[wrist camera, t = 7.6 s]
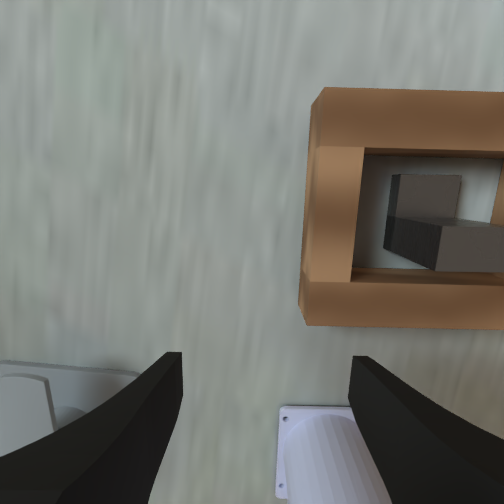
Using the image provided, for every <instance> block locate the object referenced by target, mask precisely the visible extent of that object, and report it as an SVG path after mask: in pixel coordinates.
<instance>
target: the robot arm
mask: <svg viewBox="0 0 504 504" xmlns="http://www.w3.org/2000/svg"><path fill="white" fill-rule="evenodd" d="M182 397H183V376H182V352H166V353H165V354H164V355H163V356H162V357H161V358H159V359H158V360H157V361H156V362H155V363H154V364H153V365H151V366H150V367H149V368H148V369H147V370H146V371H144V372H143V373H142V374H141V375H140V376H138V377H137V378H136V379H135V380H134V381H132V382H131V383H130V384H128V385H127V386H126V387H125V388H123V389H122V390H121V391H119V392H118V393H117V394H115V395H114V396H113V397H111V398H110V399H108V400H107V401H105V402H104V403H103V404H101V405H99V406H98V407H96V408H95V409H93V410H92V411H90V412H89V413H87V414H85V415H84V416H82V417H80V418H78V419H77V420H75V421H73V422H71V423H69V424H68V425H66V426H64V427H62V428H60V429H59V430H57V431H55V432H53V433H51V434H49V435H47V436H45V437H43V438H41V439H39V440H37V441H35V442H33V443H30V444H28V445H26V446H24V447H22V448H20V449H17V450H15V451H13V452H11V453H8V454H6V455H3V456H1V457H0V504H148V501H149V497H150V493H151V490H152V487H153V484H154V481H155V478H156V475H157V473H158V470H159V467H160V465H161V462H162V459H163V456H164V454H165V451H166V448H167V446H168V443H169V440H170V438H171V435H172V432H173V429H174V427H175V424H176V421H177V418H178V414H179V410H180V406H181V402H182ZM348 399H349V403H350V406H351V407H326V406H283V407H281V408H280V414H279V432H278V450H277V468H276V486H275V493H276V496H277V497H278V498H280V499H287V501H288V504H504V440H503V439H501V438H499V437H497V436H495V435H493V434H491V433H489V432H487V431H485V430H483V429H481V428H479V427H477V426H475V425H473V424H471V423H469V422H467V421H466V420H464V419H462V418H460V417H458V416H457V415H455V414H453V413H451V412H450V411H448V410H446V409H445V408H443V407H441V406H440V405H438V404H436V403H435V402H433V401H432V400H430V399H429V398H427V397H425V396H424V395H422V394H421V393H419V392H418V391H416V390H415V389H413V388H412V387H411V386H409V385H408V384H406V383H405V382H403V381H402V380H401V379H399V378H398V377H396V376H395V375H394V374H392V373H391V372H390V371H388V370H387V369H385V368H384V367H383V366H381V365H380V364H379V363H377V362H376V361H374V360H373V359H371V358H370V357H368V356H353V360H352V368H351V377H350V385H349V394H348ZM283 417H287V418H283Z"/></svg>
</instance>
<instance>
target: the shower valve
mask: <svg viewBox="0 0 504 504" xmlns="http://www.w3.org/2000/svg"><path fill="white" fill-rule="evenodd" d="M140 375H141V374H139V373H137V372H130V371H119V370H109V369H98V368H87V367H76V366H65V365H54V364H43V363H32V362H22V361H11V360H4V361H0V457H1V456H3V455H6V454H8V453H11V452H13V451H15V450H17V449H20V448H22V447H24V446H26V445H28V444H30V443H33V442H35V441H37V440H39V439H41V438H43V437H45V436H47V435H49V434H51V433H53V432H55V431H57V430H59V429H60V428H62V427H64V426H66V425H68V424H69V423H71V422H73V421H75V420H77V419H78V418H80V417H82V416H84V415H85V414H87V413H89V412H90V411H92V410H93V409H95V408H96V407H98V406H99V405H101V404H103V403H104V402H105V401H107V400H108V399H110V398H111V397H113V396H114V395H115V394H117V393H118V392H119V391H121V390H122V389H123V388H125V387H126V386H127V385H128V384H130V383H131V382H132V381H134V380H135V379H136V378H137V377H138V376H140Z"/></svg>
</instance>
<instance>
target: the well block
mask: <svg viewBox="0 0 504 504" xmlns="http://www.w3.org/2000/svg"><path fill="white" fill-rule="evenodd" d="M364 155H377V156H414V157H452V158H489V159H504V92H480V91H445V90H409V89H374V88H339V87H324V89H323V90H322V92H321V93H320V94H319V96H318V97H317V98H316V100H315V101H314V103H313V104H312V105H311V116H310V131H309V146H308V161H307V176H306V191H305V207H304V222H303V237H302V252H301V267H300V283H299V298H298V305H299V307H300V310H301V312H302V315H303V317H304V320H305V322H306V325H307V326H353V327H398V328H444V329H489V330H504V272H445V271H433V270H431V269H392V268H352V259H353V250H354V241H355V232H356V222H357V213H358V204H359V195H360V185H361V176H362V167H363V158H364ZM490 223H492V224H499V225H504V161H503V165H502V170H501V175H500V179H499V184H498V189H497V193H496V198H495V203H494V207H493V212H492V217H491V221H490Z"/></svg>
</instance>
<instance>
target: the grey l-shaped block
mask: <svg viewBox="0 0 504 504" xmlns="http://www.w3.org/2000/svg"><path fill="white" fill-rule="evenodd" d="M461 177H462V175H415V174H398V175H392V181H391V189H390V197H389V205H388V213H387V221H386V229H385V237H384V245H383V248H384V249H386V250H389V251H391V252H393V253H395V254H398V255H400V256H402V257H404V258H406V259H409V260H411V261H413V262H415V263H418V264H420V265H422V266H424V267H427V268H429V269H431V270H433V271H445V272H504V225H499V224H492V223H485V222H478V221H471V220H464V219H457V218H454V216H455V211H456V205H457V199H458V194H459V188H460V182H461Z"/></svg>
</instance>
